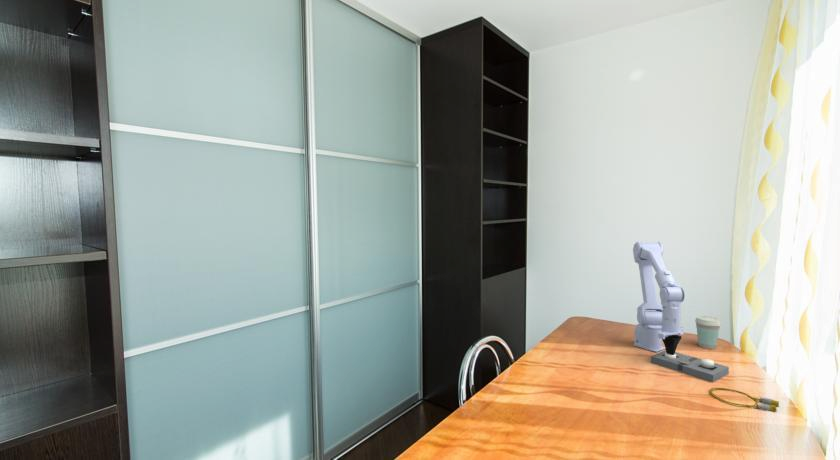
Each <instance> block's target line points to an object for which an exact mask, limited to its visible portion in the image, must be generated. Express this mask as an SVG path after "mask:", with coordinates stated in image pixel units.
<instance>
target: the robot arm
mask: <svg viewBox="0 0 840 460" xmlns="http://www.w3.org/2000/svg"><path fill="white" fill-rule="evenodd" d="M632 251H633V252H632V254H633V259H634V263H636V264H638V271H639V277H640V284H641V291H642V299H643V303H642V304H640V305H639V306H638V307H637V308H636V310H637V313H636V319H637V322H638V324H636V325H635V328H634V341H633V342H634V344H633V346H634V347H637V348H640V349H641V348H642V349H644V350H647V351H651V352H655V353H657V352H658V353H659V352H662V351H664V350H666V352H667V354H670V355H674V354H675V352H677V347H678V344H679V343H680V342H681V340H682V335H684V327H682V326H681V315H682V314H681V313H682V311H681V310H682V309H681V307H682V306H681V305H682V303H683V302H684V300H685V290H684V288H683V287H682V286H681V285H680V284H678V283H677V282H676V280H675V278H674V276H673V274H672V272H671V271H670V270H667V268H666V264H665V262H664V259H663V254H664V246H663V244H662V242H660V241H657V242H656V241H654V242H651V241H650V242H647V241H646V242H643V241H640V242H639V241H636V242H635V243H634V244H633V248H632ZM654 272H655V273H654ZM654 274H655V275H654ZM655 280H656V283H657V285H658V287H659V299H660V303H659V302H658V298H657V289H656V285H655V284H656V283H655ZM663 345H664V346H663Z"/></svg>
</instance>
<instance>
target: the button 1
mask: <svg viewBox="0 0 840 460" xmlns="http://www.w3.org/2000/svg"><path fill="white" fill-rule="evenodd" d="M665 357H668V358H672V359H675V358H676V354H674V355H670V354H667V352H665Z"/></svg>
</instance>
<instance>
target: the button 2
mask: <svg viewBox="0 0 840 460" xmlns="http://www.w3.org/2000/svg"><path fill="white" fill-rule="evenodd" d="M700 359H701V365H702V366H703V367H706V368H714V363H715V361H714V359H711V358H705V357H704V358H700Z"/></svg>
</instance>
